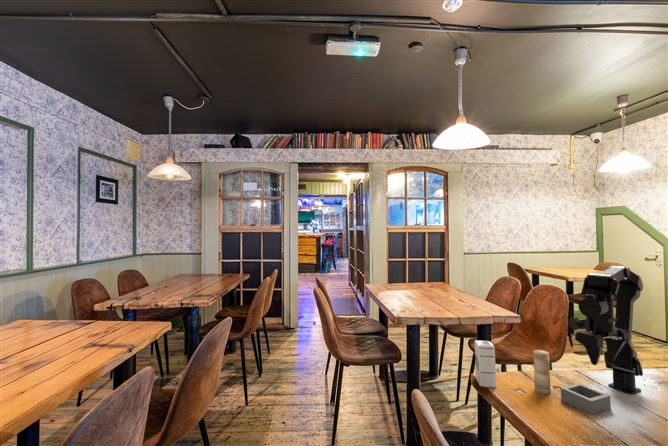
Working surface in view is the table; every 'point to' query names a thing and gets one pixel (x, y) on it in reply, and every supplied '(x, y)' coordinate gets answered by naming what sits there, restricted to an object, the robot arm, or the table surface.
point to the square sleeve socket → (586, 398)
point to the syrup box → (485, 363)
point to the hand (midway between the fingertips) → (602, 362)
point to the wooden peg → (542, 371)
